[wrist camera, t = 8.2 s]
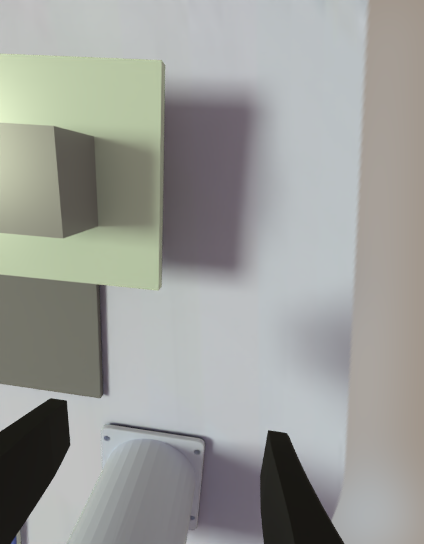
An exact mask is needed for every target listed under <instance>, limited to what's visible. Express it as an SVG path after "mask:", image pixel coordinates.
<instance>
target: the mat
mask: <svg viewBox="0 0 424 544" xmlns="http://www.w3.org/2000/svg"><path fill="white" fill-rule="evenodd" d="M0 384H6V385H13V386H20V387H27V388H33V389H40V390H47V391H54V392H61V393H68V394H75V395H82V396H89V397H95V398H101V397H102V395H103V381H102V352H101V323H100V294H99V284H90V283H80V282H70V281H60V280H50V279H40V278H30V277H21V276H11V275H1V274H0Z"/></svg>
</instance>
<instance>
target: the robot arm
mask: <svg viewBox="0 0 424 544" xmlns="http://www.w3.org/2000/svg"><path fill="white" fill-rule="evenodd" d="M108 436H109V437H108ZM69 447H70V436H69V423H68V411H67V401H65V400H58V399H52V398H50V399H49V400H47V401H46V402H44V403H43V404H41V405H40V406H38V407H37V408H35V409H34V410H32V411H31V412H29V413H28V414H26V415H25V416H23V417H22V418H20V419H19V420H17V421H16V422H14V423H13V424H11V425H10V426H8V427H7V428H5V429H4V430H2V431H1V432H0V544H11V543H12V541H13V540H14V538H15V537H16V535H17V534H18V532H19V530H20V529H21V527H22V526H23V524H24V523H25V521H26V520H27V518H28V517H29V515H30V514H31V512H32V510H33V509H34V507H35V506H36V504H37V503H38V501H39V500H40V498H41V497H42V495H43V493H44V492H45V490H46V489H47V487H48V486H49V484H50V483H51V481H52V479H53V478H54V476H55V474H56V472H57V470H58V469H59V467H60V465H61V463H62V461H63V459H64V457H65V455H66V453H67V451H68V449H69ZM101 447H102V472H101V474H100V476H99V478H98V480H97V482H96V484H95V486H94V488H93V490H92V493H91V495H90V497H89V499H88V501H87V503H86V505H85V507H84V509H83V511H82V513H81V515H80V517H79V519H78V521H77V523H76V525H75V527H74V530H73V532H72V534H71V536H70V538H69V540H68V542H67V544H186V540H187V534H188V530H195V529H196V528H197V522H198V511H199V501H200V491H201V480H202V470H203V459H204V449H205V442H204V441H203V440H202V439H200V438H194V437H188V436H181V435H175V434H168V433H161V432H155V431H148V430H142V429H135V428H128V427H122V426H115V425H104V426H103V428H102V430H101ZM197 450H199V451H197ZM260 493H261V518H262V529H263V539H264V544H344V542H343V541H342V539H341V537H340V536H339V534H338V532H337V531H336V529H335V527H334V526H333V524H332V522H331V520H330V519H329V517H328V515H327V513H326V512H325V510H324V508H323V506H322V504H321V503H320V501H319V499H318V497H317V495H316V493H315V491H314V489H313V487H312V485H311V484H310V482H309V480H308V478H307V476H306V474H305V472H304V469H303V467H302V465H301V463H300V461H299V459H298V457H297V454H296V452H295V450H294V447H293V445H292V443H291V440H290V438H289V436H288V435H287V433H283V432H276V431H269V430H268V435H267V440H266V446H265V452H264V458H263V463H262V469H261V475H260Z"/></svg>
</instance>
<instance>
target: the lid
mask: <svg viewBox="0 0 424 544" xmlns="http://www.w3.org/2000/svg"><path fill="white" fill-rule="evenodd" d="M164 110H165V64H164V63H163V62H162V60H143V59H118V58H93V57H68V56H44V55H19V54H0V274H1V275H11V276H21V277H30V278H40V279H50V280H60V281H70V282H80V283H90V284H99V285H109V286H119V287H129V288H139V289H149V290H159V289H160V288H161V287H162V231H163V170H164Z"/></svg>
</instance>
